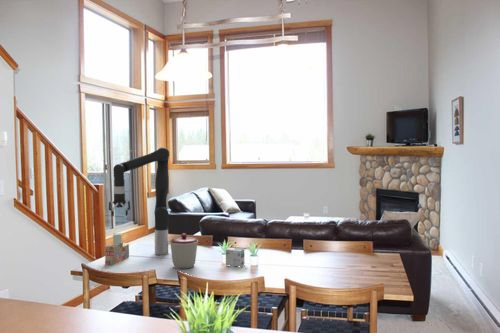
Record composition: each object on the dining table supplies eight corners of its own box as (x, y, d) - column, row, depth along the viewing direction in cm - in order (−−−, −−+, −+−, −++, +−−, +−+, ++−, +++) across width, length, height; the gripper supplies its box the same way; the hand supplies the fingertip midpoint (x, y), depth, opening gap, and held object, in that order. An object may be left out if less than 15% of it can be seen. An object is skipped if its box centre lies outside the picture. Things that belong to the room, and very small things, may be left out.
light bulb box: (244, 265, 274) (244, 248, 274) (241, 267, 268) (241, 250, 268) (229, 263, 278) (229, 247, 278) (225, 266, 272) (225, 249, 271)
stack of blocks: (120, 256, 295) (120, 239, 294) (129, 257, 294) (129, 239, 293) (105, 264, 274) (104, 245, 273) (114, 265, 272) (114, 246, 272)
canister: (197, 262, 280) (197, 230, 279) (199, 270, 262) (199, 235, 262) (169, 263, 277) (169, 231, 276) (169, 271, 259) (169, 236, 258)
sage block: (121, 242, 285) (121, 233, 284) (121, 243, 280) (121, 234, 280) (113, 242, 284) (113, 233, 283) (113, 243, 279) (113, 234, 279)
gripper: (130, 192, 302) (130, 214, 303) (109, 192, 299) (109, 215, 299) (130, 193, 295) (130, 216, 296) (108, 193, 291) (108, 217, 292)
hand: (119, 216), depth 297 cm, fingers open, 8 cm apart
